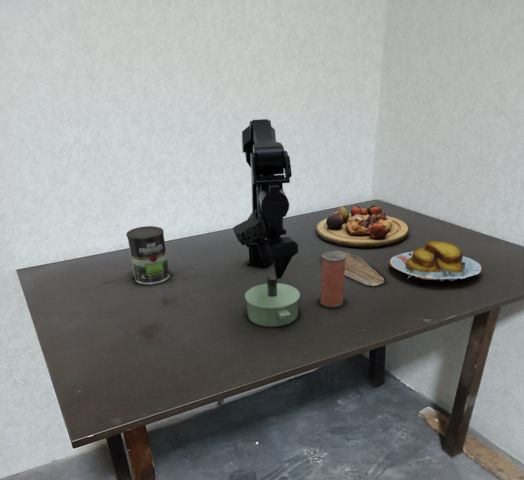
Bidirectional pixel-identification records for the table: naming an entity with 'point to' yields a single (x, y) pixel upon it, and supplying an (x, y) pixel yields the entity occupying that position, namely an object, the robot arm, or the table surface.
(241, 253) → the table surface
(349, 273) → the brown flat tapered piece
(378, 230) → the wooden plate
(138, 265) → the coffee can
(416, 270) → the food on plate
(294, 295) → the pot lid
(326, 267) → the reddish translucent cylinder
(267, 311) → the pot
